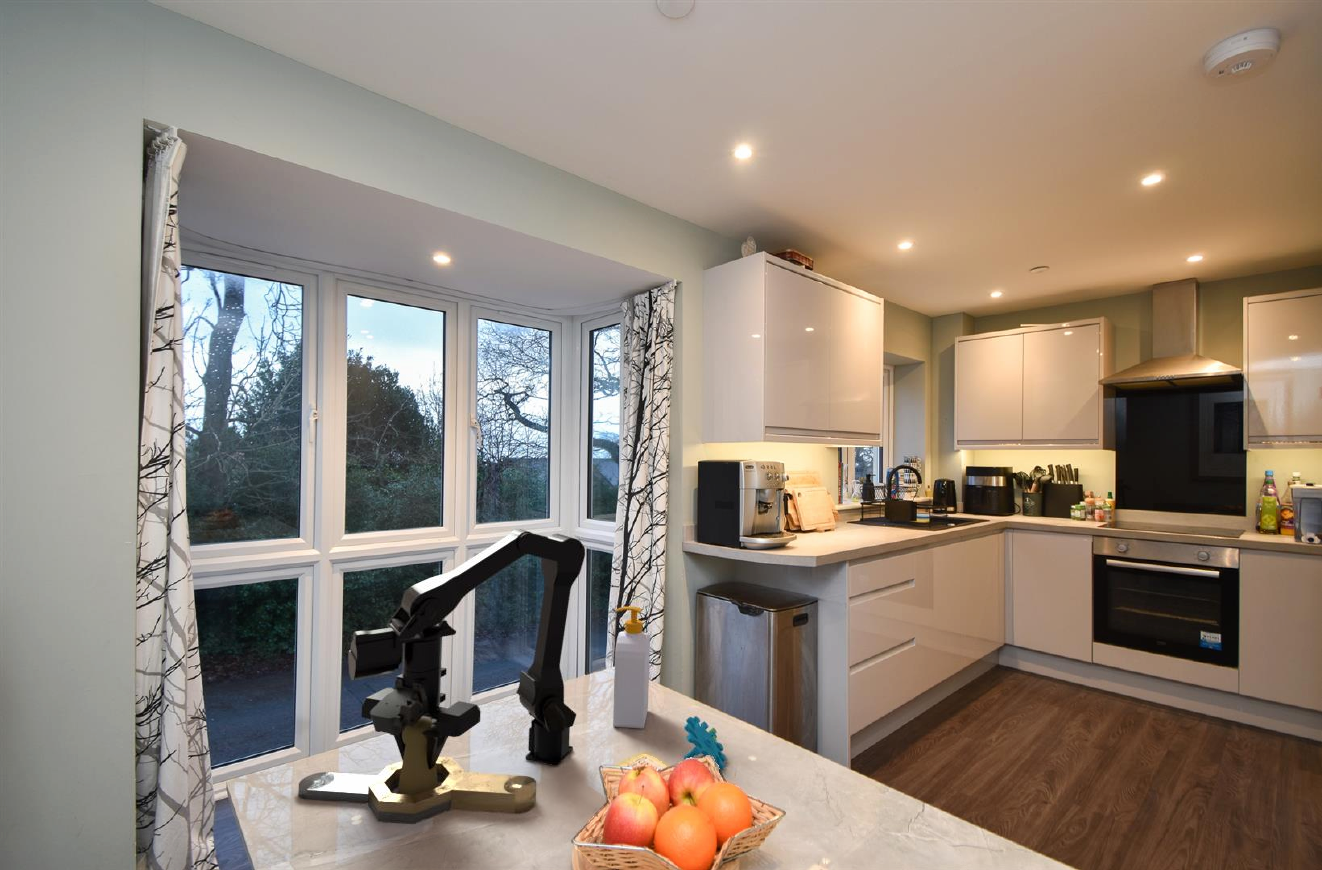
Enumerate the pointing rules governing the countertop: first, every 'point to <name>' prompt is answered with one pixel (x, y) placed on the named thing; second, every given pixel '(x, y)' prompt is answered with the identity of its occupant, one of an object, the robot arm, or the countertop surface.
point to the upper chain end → (457, 791)
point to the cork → (416, 761)
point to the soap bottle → (631, 674)
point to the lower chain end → (361, 794)
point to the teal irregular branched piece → (704, 741)
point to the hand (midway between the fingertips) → (418, 765)
